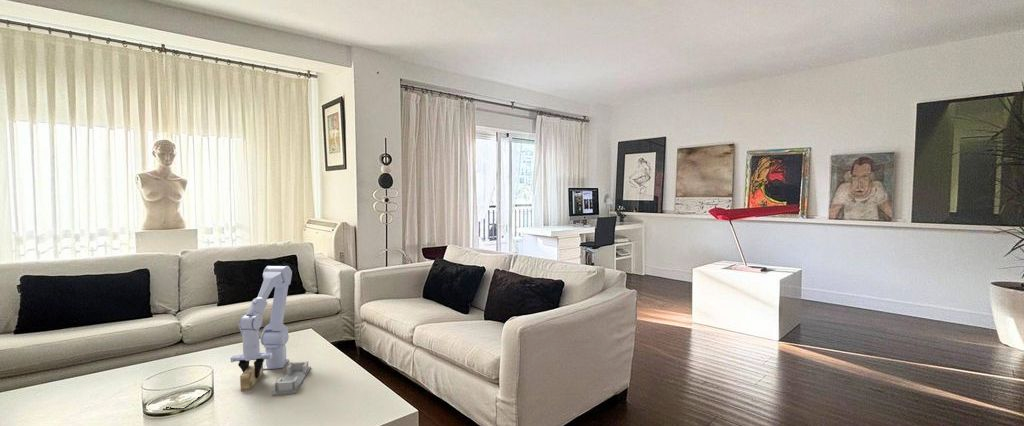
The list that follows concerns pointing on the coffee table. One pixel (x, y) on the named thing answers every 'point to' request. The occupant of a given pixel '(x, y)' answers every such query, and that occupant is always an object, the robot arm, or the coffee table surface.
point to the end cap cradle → (292, 379)
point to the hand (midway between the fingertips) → (252, 377)
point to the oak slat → (249, 377)
